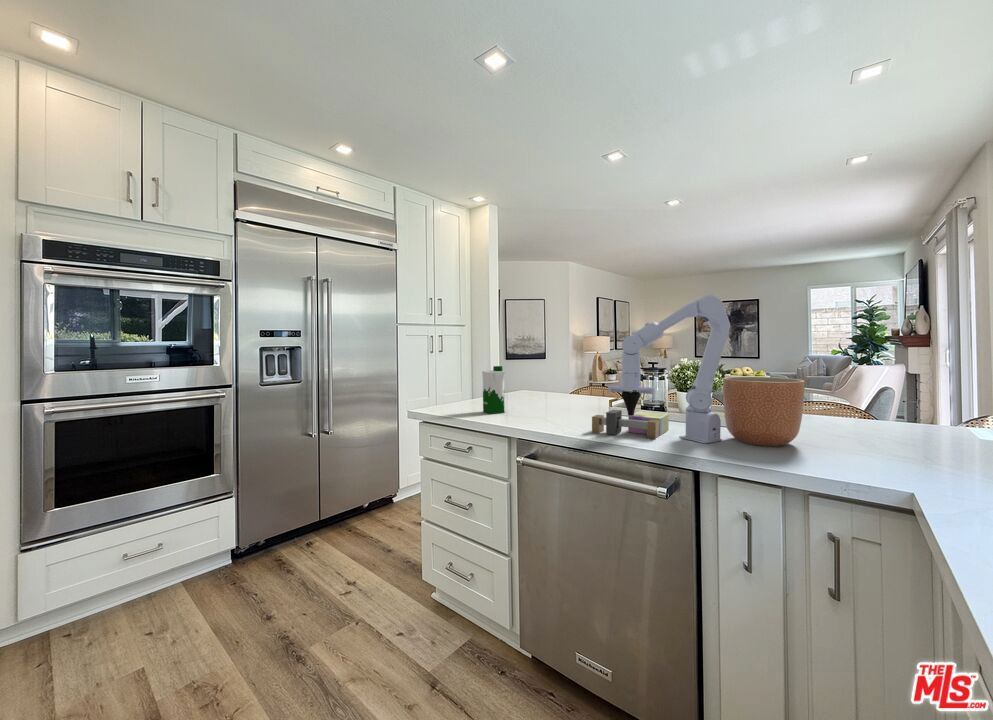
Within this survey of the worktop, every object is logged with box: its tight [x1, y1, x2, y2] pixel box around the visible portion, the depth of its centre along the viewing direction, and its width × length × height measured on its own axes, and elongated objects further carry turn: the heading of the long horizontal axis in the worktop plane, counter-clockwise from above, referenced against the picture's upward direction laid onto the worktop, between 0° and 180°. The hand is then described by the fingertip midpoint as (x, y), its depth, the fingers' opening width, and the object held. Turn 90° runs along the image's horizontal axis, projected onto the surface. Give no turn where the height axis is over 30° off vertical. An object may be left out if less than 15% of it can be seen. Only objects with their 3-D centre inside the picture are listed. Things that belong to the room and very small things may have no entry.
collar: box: [605, 409, 623, 436], centre depth 144 cm, size 3×7×7 cm, turn 148°
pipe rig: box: [591, 414, 659, 440], centre depth 142 cm, size 20×5×5 cm, turn 58°
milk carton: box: [481, 365, 506, 415], centre depth 189 cm, size 9×9×20 cm
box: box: [627, 410, 670, 436], centre depth 147 cm, size 10×6×12 cm
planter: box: [722, 376, 806, 447], centre depth 130 cm, size 21×21×19 cm
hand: (631, 415), depth 141 cm, fingers closed
